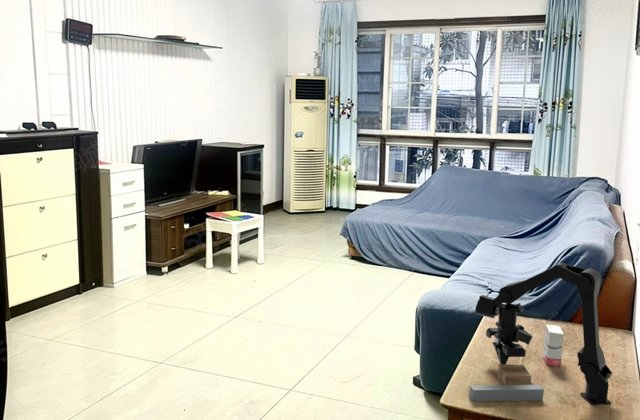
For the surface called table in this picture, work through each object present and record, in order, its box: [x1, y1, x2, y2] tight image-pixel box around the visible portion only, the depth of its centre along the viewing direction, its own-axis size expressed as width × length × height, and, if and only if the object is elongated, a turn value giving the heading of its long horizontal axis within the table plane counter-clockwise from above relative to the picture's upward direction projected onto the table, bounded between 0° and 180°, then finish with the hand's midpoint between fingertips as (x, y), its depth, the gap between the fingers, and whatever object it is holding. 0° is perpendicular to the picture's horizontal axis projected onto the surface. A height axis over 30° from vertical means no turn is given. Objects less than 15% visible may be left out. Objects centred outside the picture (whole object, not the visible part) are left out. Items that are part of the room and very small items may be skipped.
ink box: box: [542, 324, 565, 367], centre depth 212 cm, size 9×5×12 cm, turn 168°
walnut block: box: [496, 363, 532, 385], centre depth 194 cm, size 8×8×4 cm
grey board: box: [468, 384, 545, 402], centre depth 183 cm, size 3×22×4 cm, turn 96°
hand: (502, 366), depth 203 cm, fingers closed
